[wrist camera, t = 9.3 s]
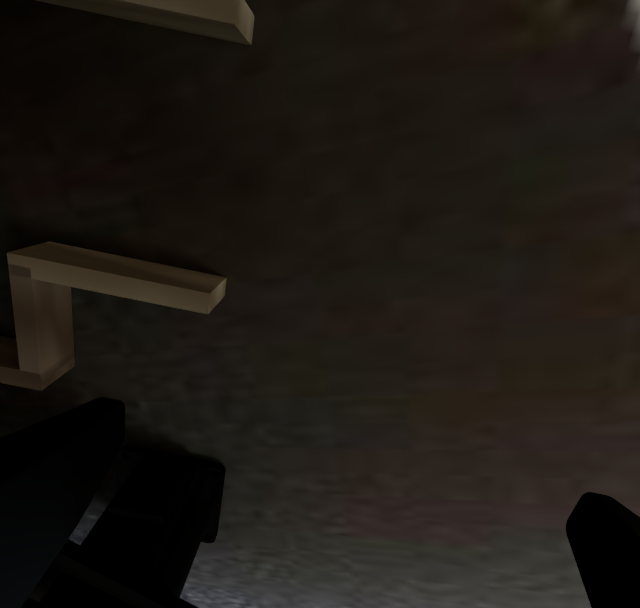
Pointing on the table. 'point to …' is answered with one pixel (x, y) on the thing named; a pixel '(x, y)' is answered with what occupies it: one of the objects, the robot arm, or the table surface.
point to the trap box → (98, 267)
